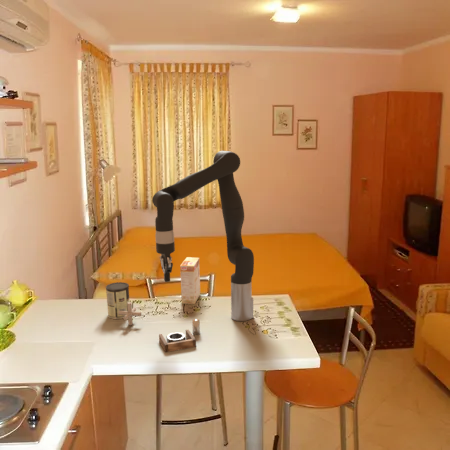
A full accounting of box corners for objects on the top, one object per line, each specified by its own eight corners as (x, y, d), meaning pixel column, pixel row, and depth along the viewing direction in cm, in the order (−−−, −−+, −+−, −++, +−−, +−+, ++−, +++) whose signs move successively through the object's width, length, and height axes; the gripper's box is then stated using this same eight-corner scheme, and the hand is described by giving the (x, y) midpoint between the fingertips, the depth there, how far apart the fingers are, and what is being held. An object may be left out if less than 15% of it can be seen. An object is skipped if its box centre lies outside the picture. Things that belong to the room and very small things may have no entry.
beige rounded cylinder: (198, 331, 202) (198, 318, 201) (200, 334, 200) (200, 320, 198) (191, 332, 201) (191, 319, 200) (193, 335, 199) (193, 321, 197)
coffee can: (119, 308, 228) (117, 280, 225) (135, 313, 223) (133, 284, 220) (102, 316, 220) (100, 287, 217) (119, 320, 214) (117, 291, 211)
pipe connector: (136, 329, 205) (135, 307, 203) (115, 328, 207) (113, 306, 205) (145, 320, 214) (144, 299, 212) (124, 319, 216) (123, 298, 214)
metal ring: (182, 338, 196) (182, 331, 196) (186, 345, 190) (186, 338, 189) (165, 341, 194) (165, 334, 193) (169, 348, 187) (169, 341, 187)
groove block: (188, 336, 198) (188, 329, 197) (196, 346, 189) (195, 339, 188) (159, 341, 194) (158, 334, 193) (165, 352, 184) (165, 345, 184)
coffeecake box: (187, 293, 248) (186, 256, 244) (200, 293, 247) (199, 257, 243) (180, 303, 234) (179, 265, 230) (195, 304, 233) (194, 265, 229)
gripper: (178, 243, 189) (180, 284, 193) (169, 236, 202) (171, 275, 205) (159, 245, 187) (162, 287, 191) (152, 238, 199) (154, 277, 203)
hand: (167, 281), depth 198 cm, fingers closed
